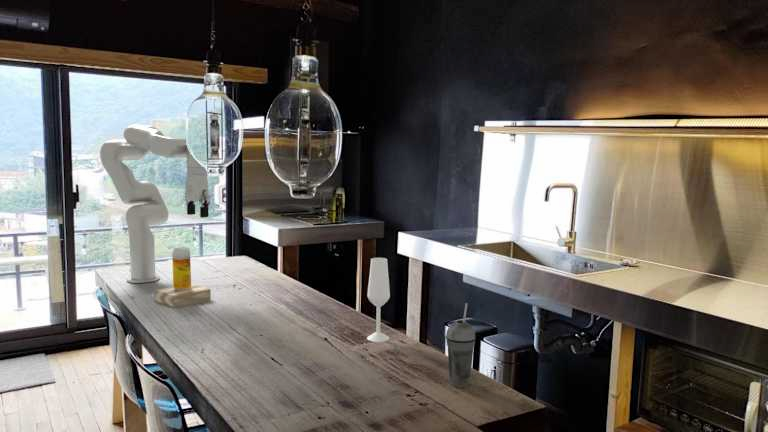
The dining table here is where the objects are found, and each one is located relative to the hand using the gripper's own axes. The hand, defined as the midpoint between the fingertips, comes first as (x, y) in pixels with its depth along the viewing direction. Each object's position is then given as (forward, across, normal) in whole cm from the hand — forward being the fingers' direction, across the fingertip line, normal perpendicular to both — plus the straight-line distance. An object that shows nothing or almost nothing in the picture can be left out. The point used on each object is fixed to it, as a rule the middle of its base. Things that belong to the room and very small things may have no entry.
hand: (197, 215), depth 222 cm
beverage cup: (+27, +126, -3) cm, 129 cm away
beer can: (+25, +10, -12) cm, 30 cm away
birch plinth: (+29, +11, -12) cm, 33 cm away
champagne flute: (+28, +90, +7) cm, 94 cm away
